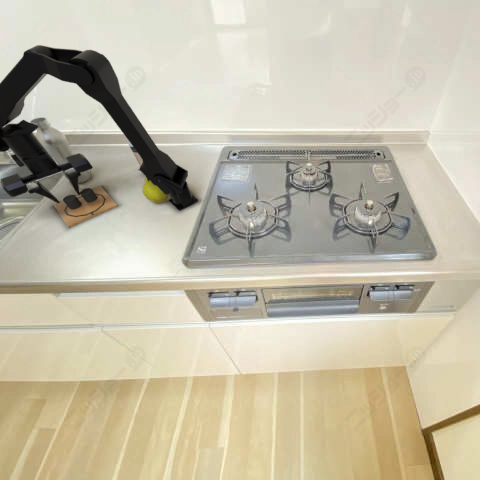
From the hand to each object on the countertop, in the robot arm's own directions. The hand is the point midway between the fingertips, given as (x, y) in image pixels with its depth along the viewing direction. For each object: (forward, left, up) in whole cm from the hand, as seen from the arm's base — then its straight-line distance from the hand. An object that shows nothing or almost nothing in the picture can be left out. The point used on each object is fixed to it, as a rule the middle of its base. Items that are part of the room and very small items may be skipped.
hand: (69, 198), depth 81 cm
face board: (-1, -2, -4) cm, 4 cm away
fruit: (-14, -19, -4) cm, 24 cm away
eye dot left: (0, 0, -3) cm, 3 cm away
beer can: (+2, -24, -4) cm, 24 cm away
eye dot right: (0, -4, -3) cm, 5 cm away
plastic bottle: (+14, -6, -4) cm, 16 cm away
